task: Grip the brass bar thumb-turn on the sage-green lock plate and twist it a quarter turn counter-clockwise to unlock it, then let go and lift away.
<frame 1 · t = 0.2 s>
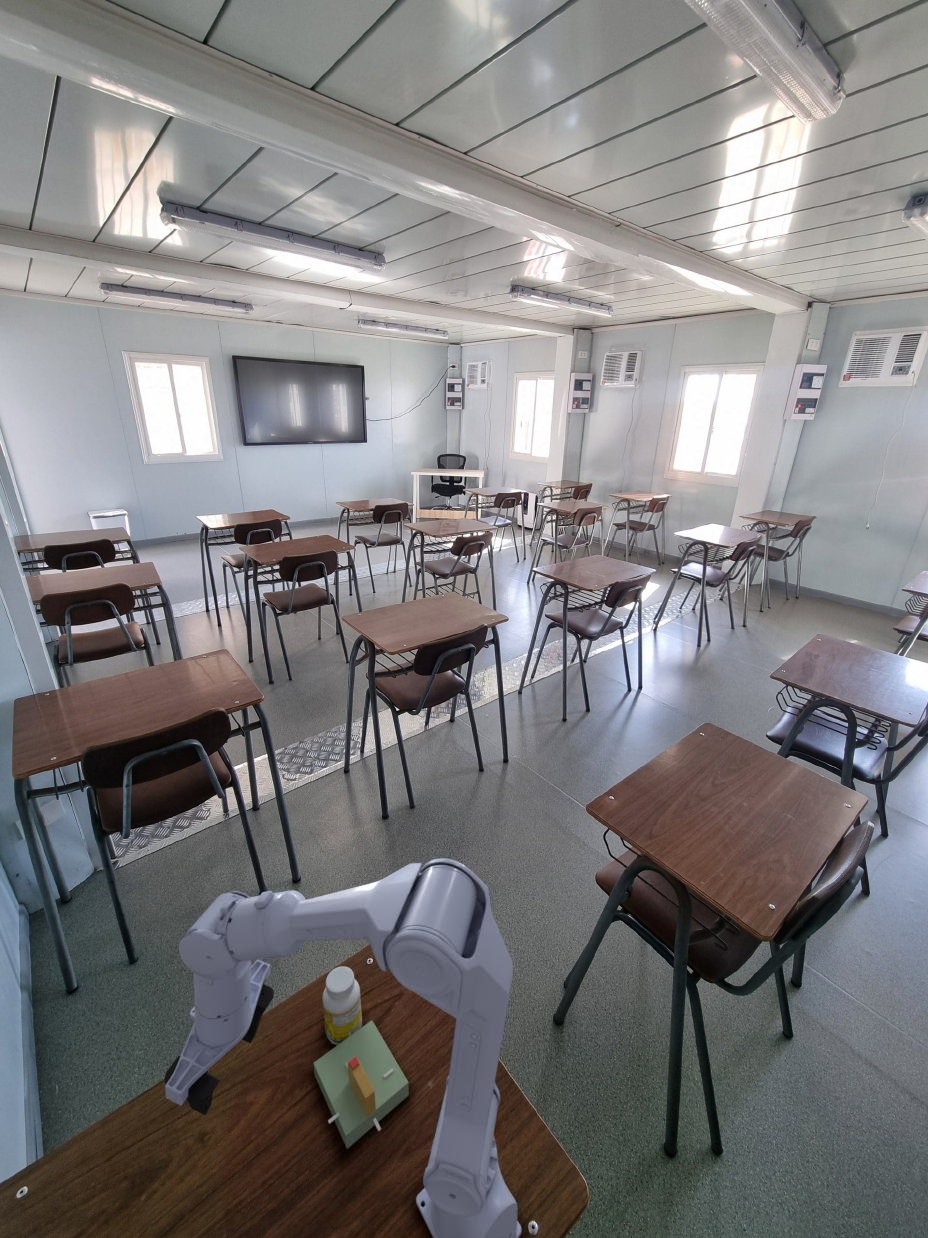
hand: (224, 1071, 61), 11 cm above the table, tool pointing down, fingers open, 7 cm apart
lock plate: (361, 1085, 68), on the table
supplement bottle: (344, 1028, 75), on the table
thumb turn: (361, 1085, 64), point 4 cm above the table, hinge at 0.0°
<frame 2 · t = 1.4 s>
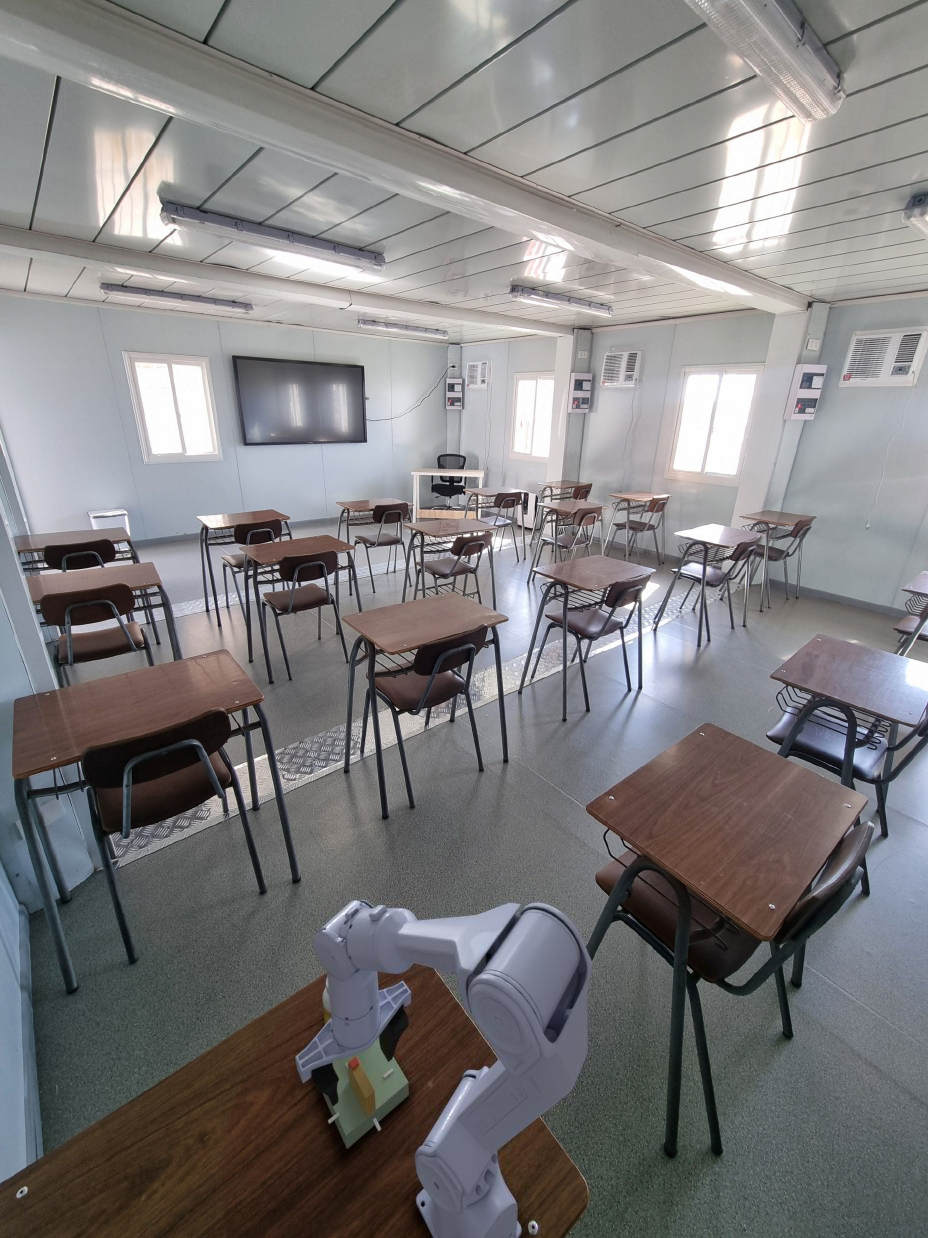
hand: (360, 1074, 64), 6 cm above the table, tool pointing down, fingers open, 7 cm apart
nothing on the table moved.
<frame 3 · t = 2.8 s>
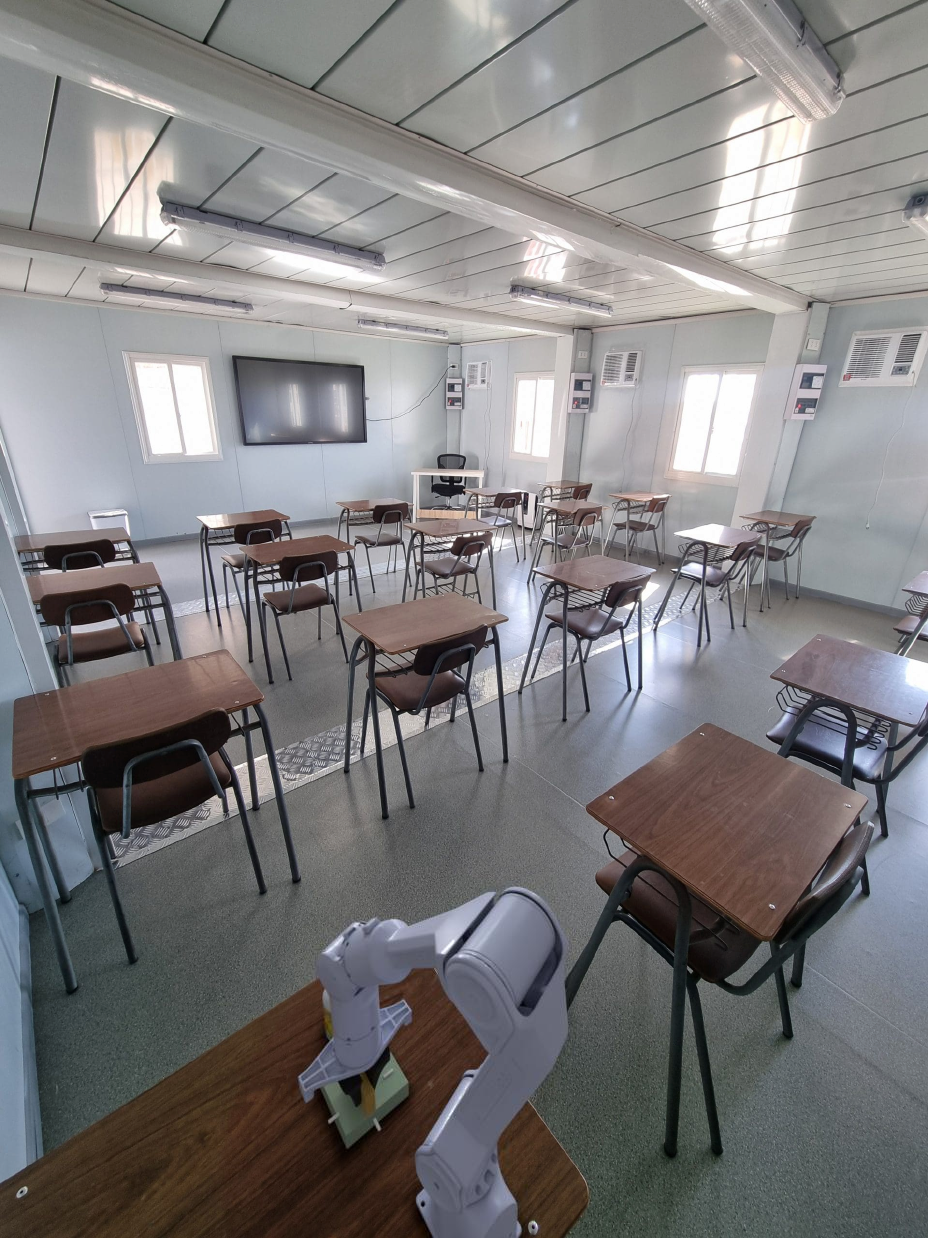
hand: (362, 1092, 65), 3 cm above the table, tool pointing down, fingers closed on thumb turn
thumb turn: (361, 1085, 64), point 4 cm above the table, hinge at -0.1°, touching gripper
everything else where it was.
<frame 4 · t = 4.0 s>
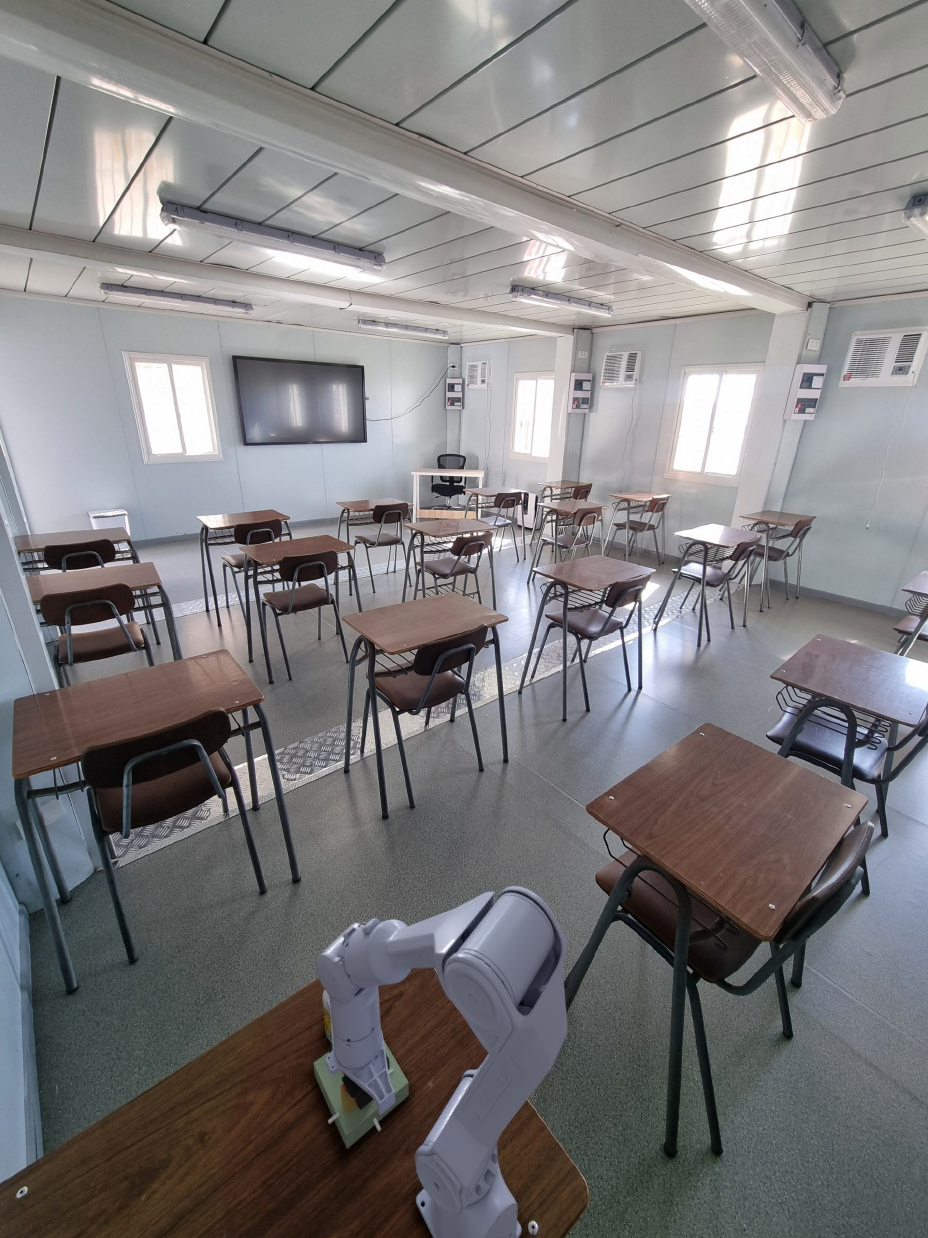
hand: (361, 1093, 65), 3 cm above the table, tool pointing down, fingers closed
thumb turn: (361, 1085, 64), point 4 cm above the table, hinge at 89.5°
everything else where it was.
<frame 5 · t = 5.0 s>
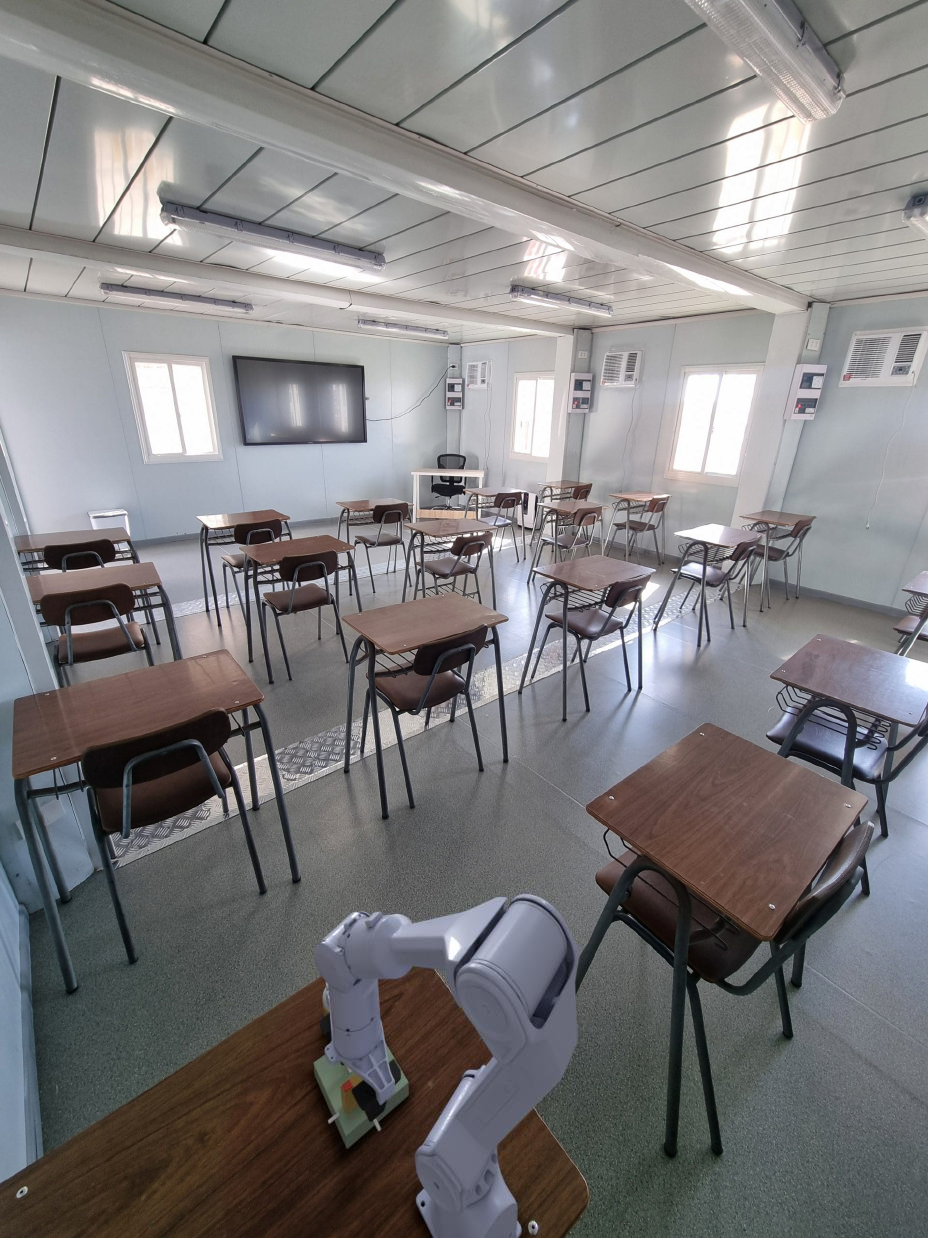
hand: (361, 1085, 64), 5 cm above the table, tool pointing down, fingers open, 7 cm apart
nothing on the table moved.
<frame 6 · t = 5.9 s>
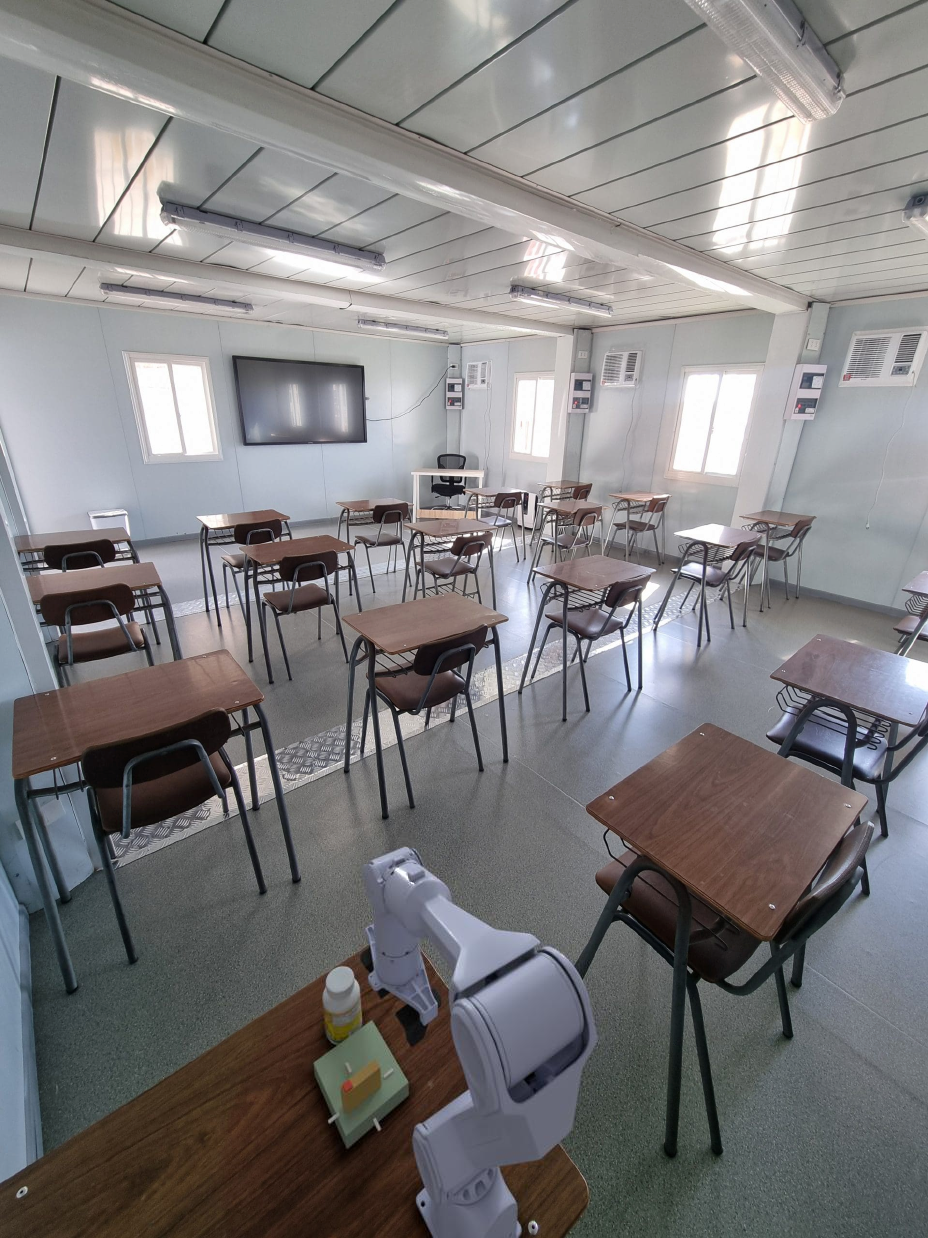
hand: (400, 1015, 67), 10 cm above the table, tool pointing down, fingers open, 7 cm apart
nothing on the table moved.
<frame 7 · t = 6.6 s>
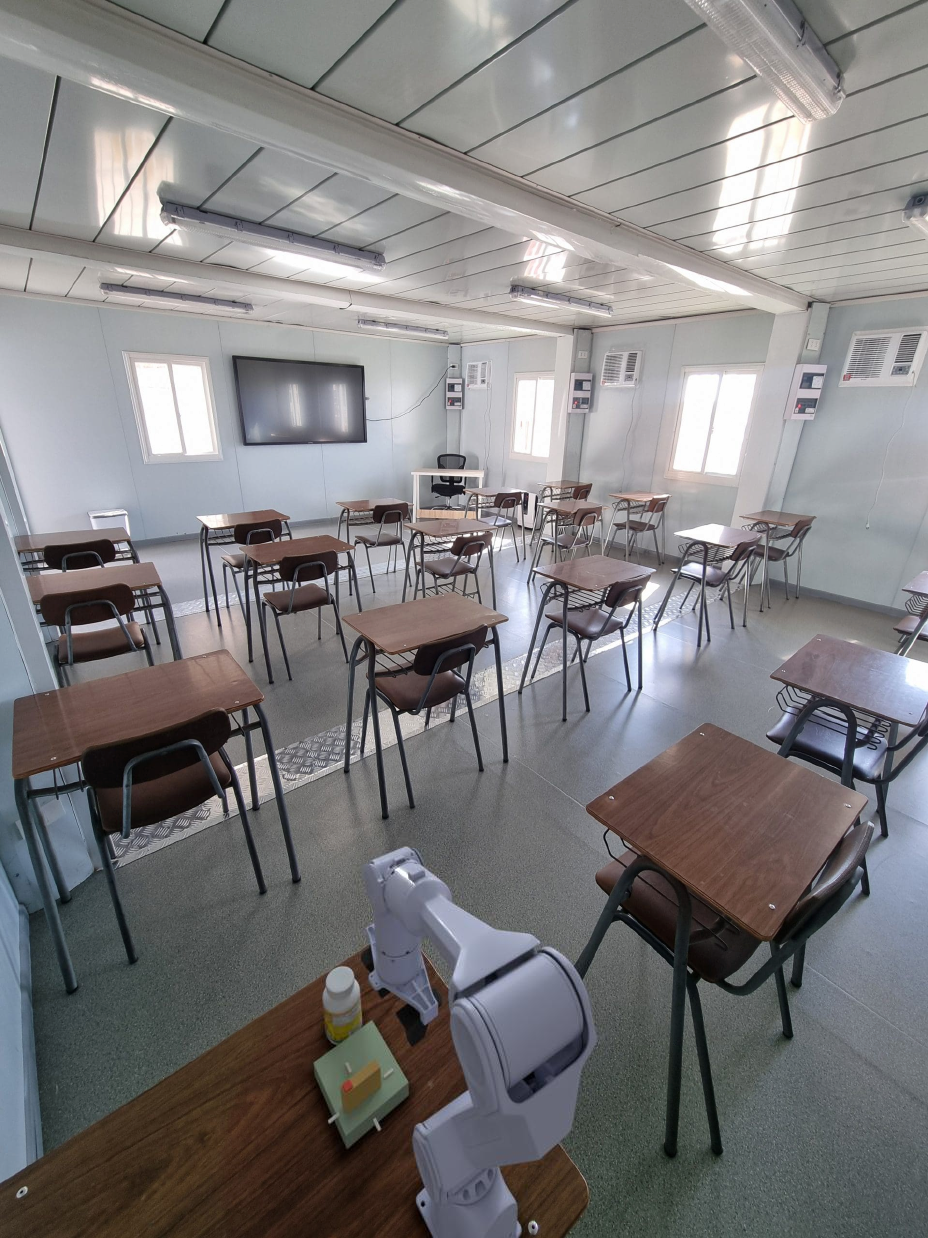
hand: (401, 1015, 67), 10 cm above the table, tool pointing down, fingers open, 7 cm apart
nothing on the table moved.
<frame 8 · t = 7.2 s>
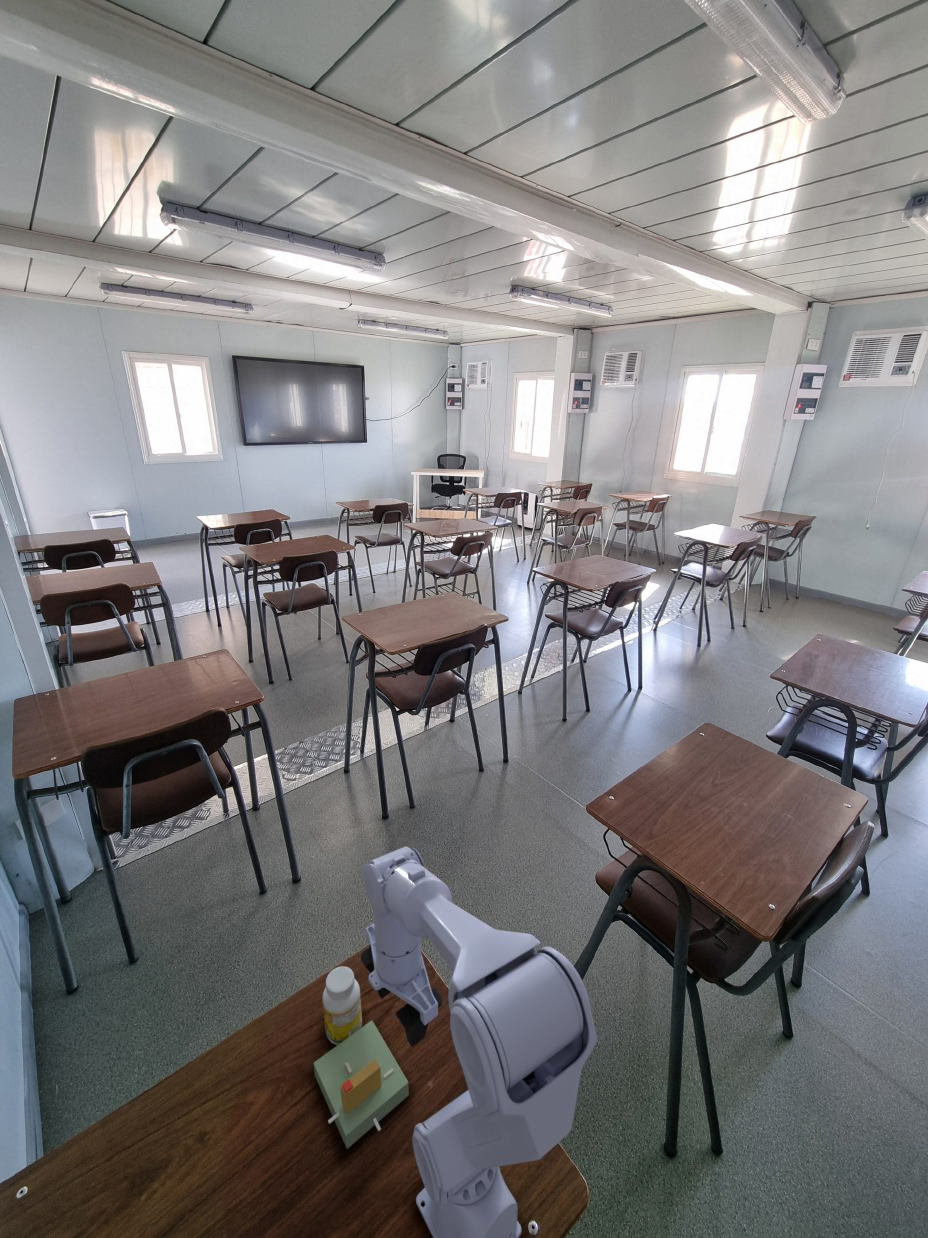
hand: (401, 1015, 67), 10 cm above the table, tool pointing down, fingers open, 7 cm apart
nothing on the table moved.
at the end: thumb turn at +90° (first picture: +0°) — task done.
